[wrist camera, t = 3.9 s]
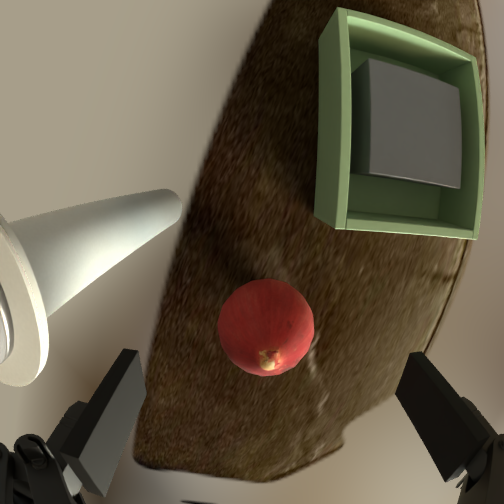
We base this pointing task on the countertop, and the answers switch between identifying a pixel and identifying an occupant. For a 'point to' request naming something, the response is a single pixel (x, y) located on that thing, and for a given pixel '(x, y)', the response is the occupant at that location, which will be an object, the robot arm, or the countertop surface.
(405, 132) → the block
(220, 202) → the countertop surface
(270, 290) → the onion
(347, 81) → the crate
